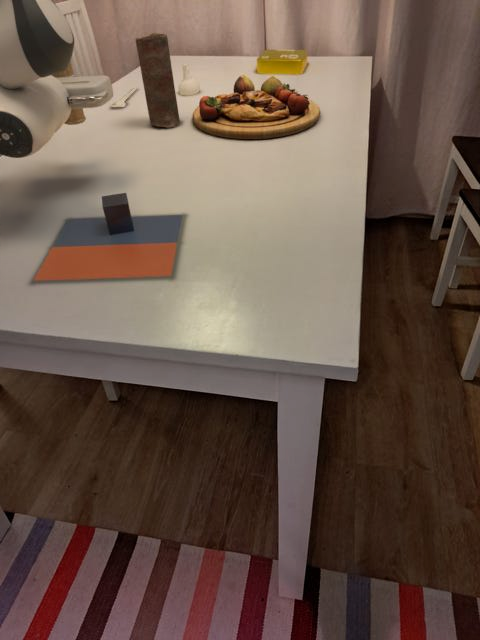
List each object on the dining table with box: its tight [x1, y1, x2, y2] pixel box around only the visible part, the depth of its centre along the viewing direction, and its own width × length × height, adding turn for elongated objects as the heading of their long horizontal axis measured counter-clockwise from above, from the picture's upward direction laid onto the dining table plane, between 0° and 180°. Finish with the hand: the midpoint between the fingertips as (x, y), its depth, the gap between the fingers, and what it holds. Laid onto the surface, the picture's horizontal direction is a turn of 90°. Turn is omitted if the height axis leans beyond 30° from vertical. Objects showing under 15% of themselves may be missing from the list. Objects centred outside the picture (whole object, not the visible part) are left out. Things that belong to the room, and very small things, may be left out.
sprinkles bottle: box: [52, 60, 87, 126], centre depth 87 cm, size 5×5×14 cm
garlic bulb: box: [177, 63, 201, 97], centre depth 135 cm, size 6×6×8 cm
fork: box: [109, 87, 137, 108], centre depth 134 cm, size 3×20×2 cm, turn 174°
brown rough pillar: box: [135, 32, 181, 128], centre depth 110 cm, size 8×7×20 cm
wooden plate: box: [192, 74, 321, 140], centre depth 115 cm, size 32×32×8 cm
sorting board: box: [33, 214, 183, 282], centre depth 74 cm, size 20×18×1 cm
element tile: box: [256, 48, 308, 75], centre depth 153 cm, size 15×15×5 cm
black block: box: [101, 192, 134, 235], centre depth 76 cm, size 4×4×5 cm
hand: (65, 81), depth 88 cm, fingers closed on sprinkles bottle, 4 cm apart
